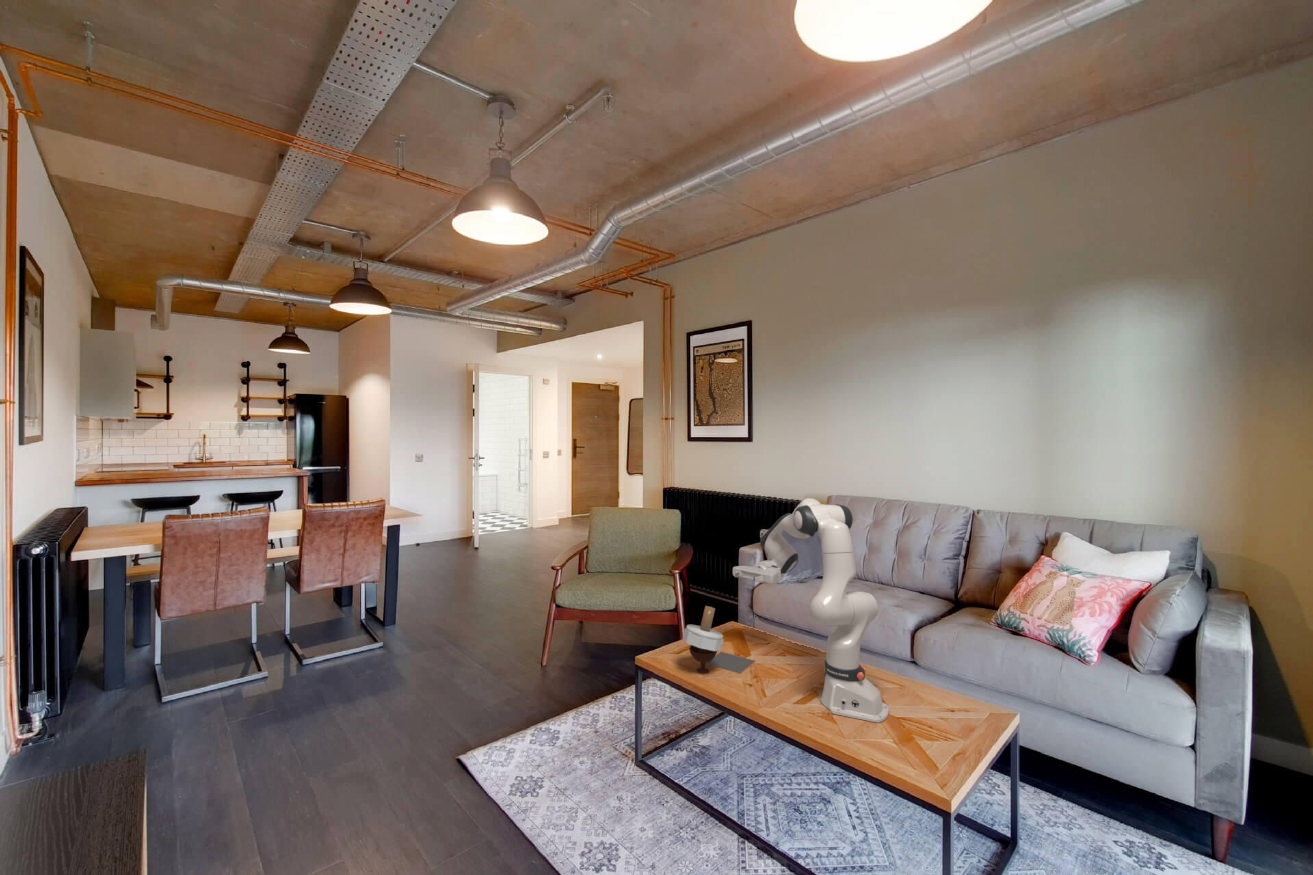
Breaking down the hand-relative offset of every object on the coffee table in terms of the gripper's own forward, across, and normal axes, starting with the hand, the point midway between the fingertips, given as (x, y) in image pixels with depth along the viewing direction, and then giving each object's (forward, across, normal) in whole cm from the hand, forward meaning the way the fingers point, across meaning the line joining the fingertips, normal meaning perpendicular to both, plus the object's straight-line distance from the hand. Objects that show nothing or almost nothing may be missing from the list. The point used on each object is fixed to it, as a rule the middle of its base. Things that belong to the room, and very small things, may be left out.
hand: (744, 577), depth 232 cm
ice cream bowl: (+20, -6, +35) cm, 41 cm away
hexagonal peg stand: (+21, -6, +24) cm, 32 cm away
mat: (+5, -3, +35) cm, 35 cm away
